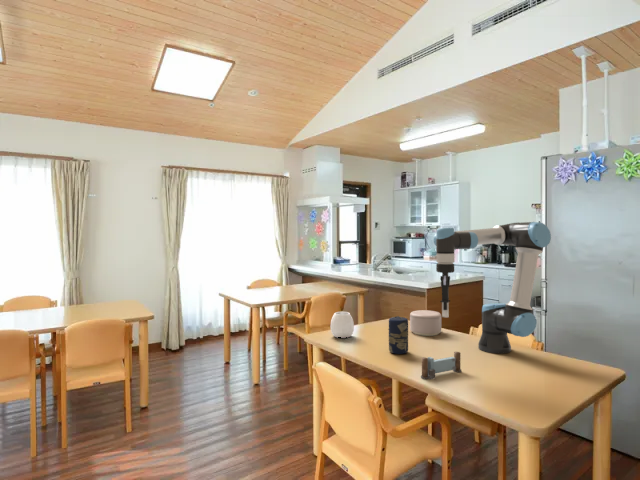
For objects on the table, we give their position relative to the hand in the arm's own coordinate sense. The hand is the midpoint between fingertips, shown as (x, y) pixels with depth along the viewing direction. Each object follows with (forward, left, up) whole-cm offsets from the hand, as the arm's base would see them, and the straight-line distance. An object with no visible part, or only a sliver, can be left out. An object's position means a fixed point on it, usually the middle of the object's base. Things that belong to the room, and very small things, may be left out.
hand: (445, 316), depth 179 cm
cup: (+58, -36, -23) cm, 72 cm away
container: (+14, -60, -23) cm, 66 cm away
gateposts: (+1, +9, -22) cm, 24 cm away
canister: (+23, -16, -23) cm, 36 cm away
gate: (+1, +9, -22) cm, 24 cm away
